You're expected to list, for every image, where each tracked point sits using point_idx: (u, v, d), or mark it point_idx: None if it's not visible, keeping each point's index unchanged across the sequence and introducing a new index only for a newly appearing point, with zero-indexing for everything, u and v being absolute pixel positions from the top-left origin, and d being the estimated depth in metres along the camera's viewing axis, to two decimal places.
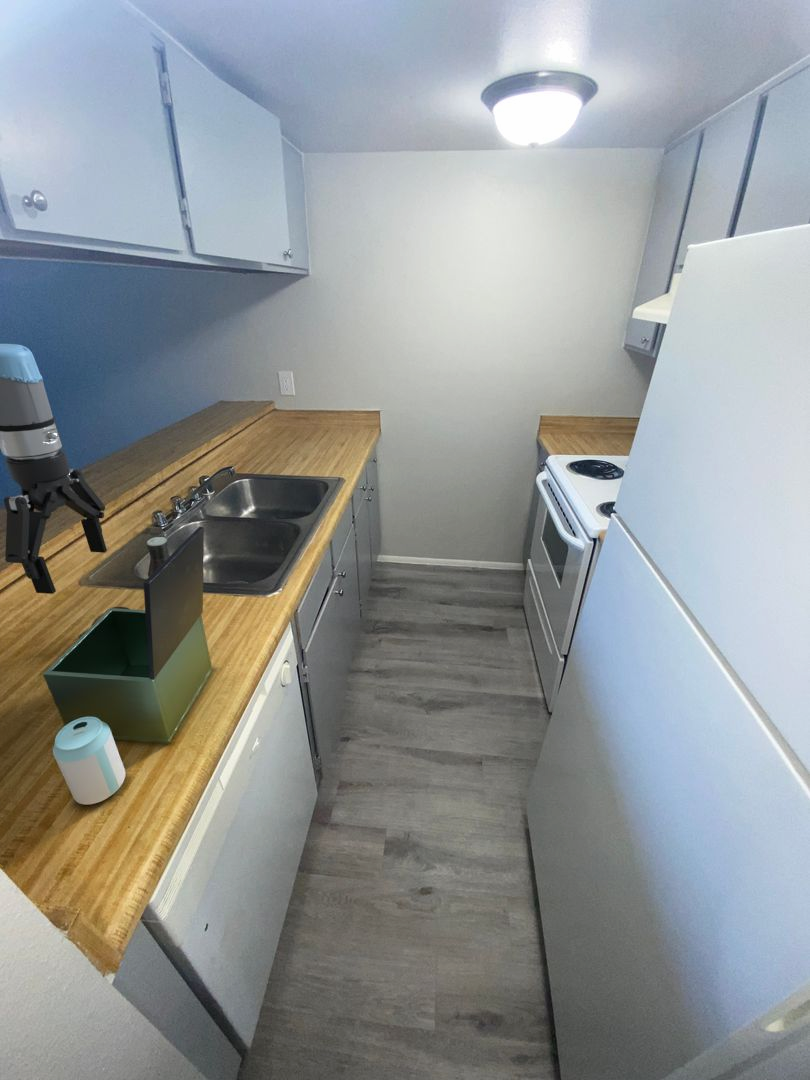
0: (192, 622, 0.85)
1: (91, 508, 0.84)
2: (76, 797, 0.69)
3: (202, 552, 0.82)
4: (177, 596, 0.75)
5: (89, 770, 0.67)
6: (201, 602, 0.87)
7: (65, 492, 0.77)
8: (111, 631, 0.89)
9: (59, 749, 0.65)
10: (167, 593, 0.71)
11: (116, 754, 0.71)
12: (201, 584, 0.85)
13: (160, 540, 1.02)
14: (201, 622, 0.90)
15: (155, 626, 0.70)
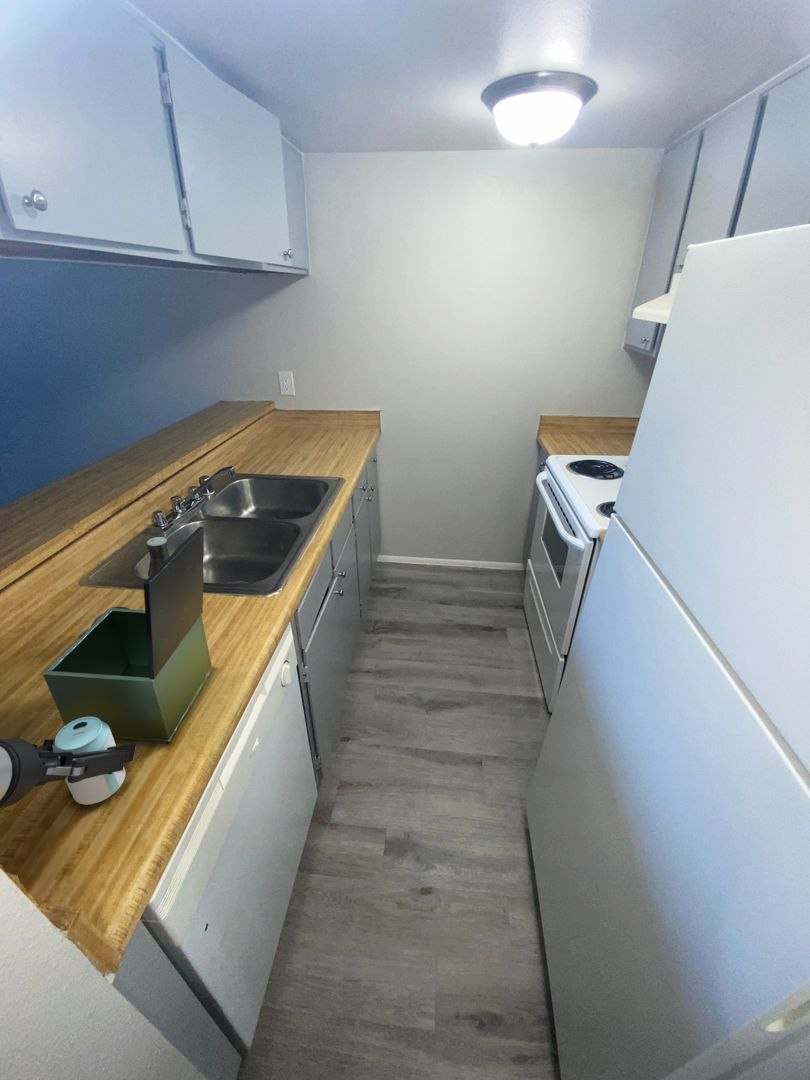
0: (192, 622, 0.85)
1: (40, 747, 0.66)
2: (76, 796, 0.69)
3: (202, 552, 0.82)
4: (177, 596, 0.75)
5: None
6: (201, 602, 0.87)
7: None
8: (111, 631, 0.89)
9: (59, 749, 0.65)
10: (167, 593, 0.71)
11: None
12: (201, 584, 0.85)
13: (160, 540, 1.02)
14: (201, 622, 0.90)
15: (155, 626, 0.70)
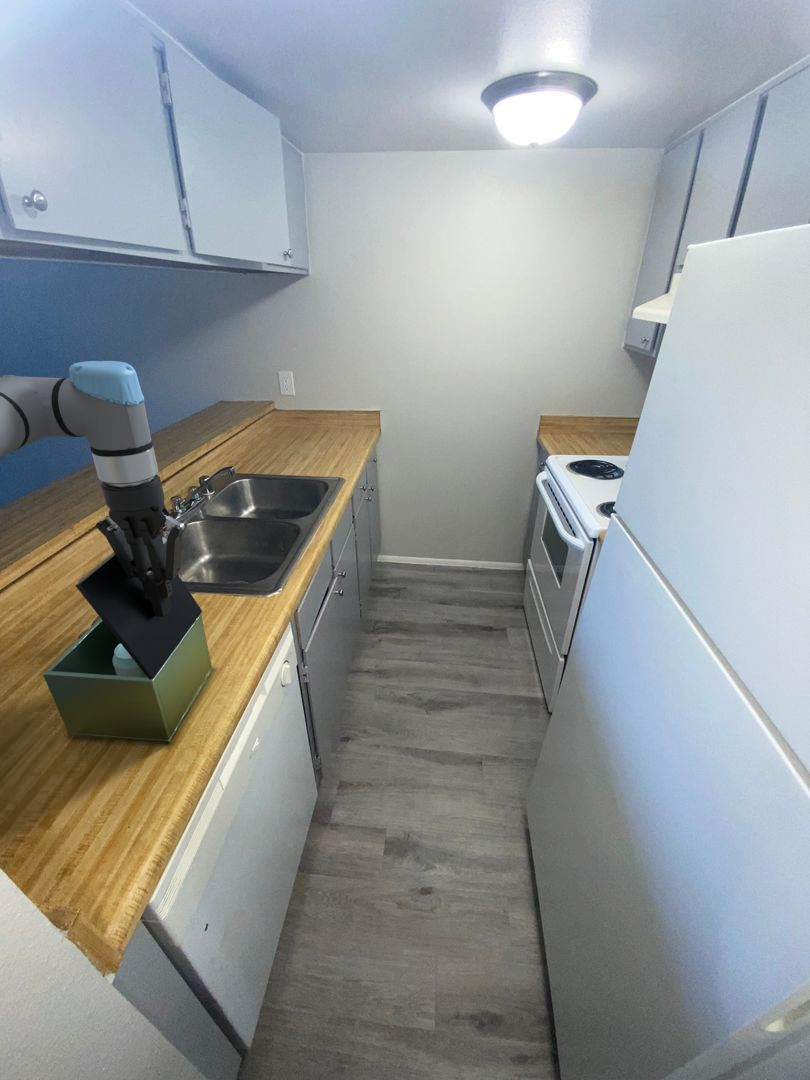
0: (189, 621, 0.85)
1: None
2: None
3: None
4: (142, 596, 0.76)
5: None
6: (193, 601, 0.87)
7: None
8: None
9: (115, 656, 0.81)
10: (122, 593, 0.72)
11: None
12: (180, 584, 0.85)
13: None
14: (201, 622, 0.90)
15: (120, 625, 0.70)
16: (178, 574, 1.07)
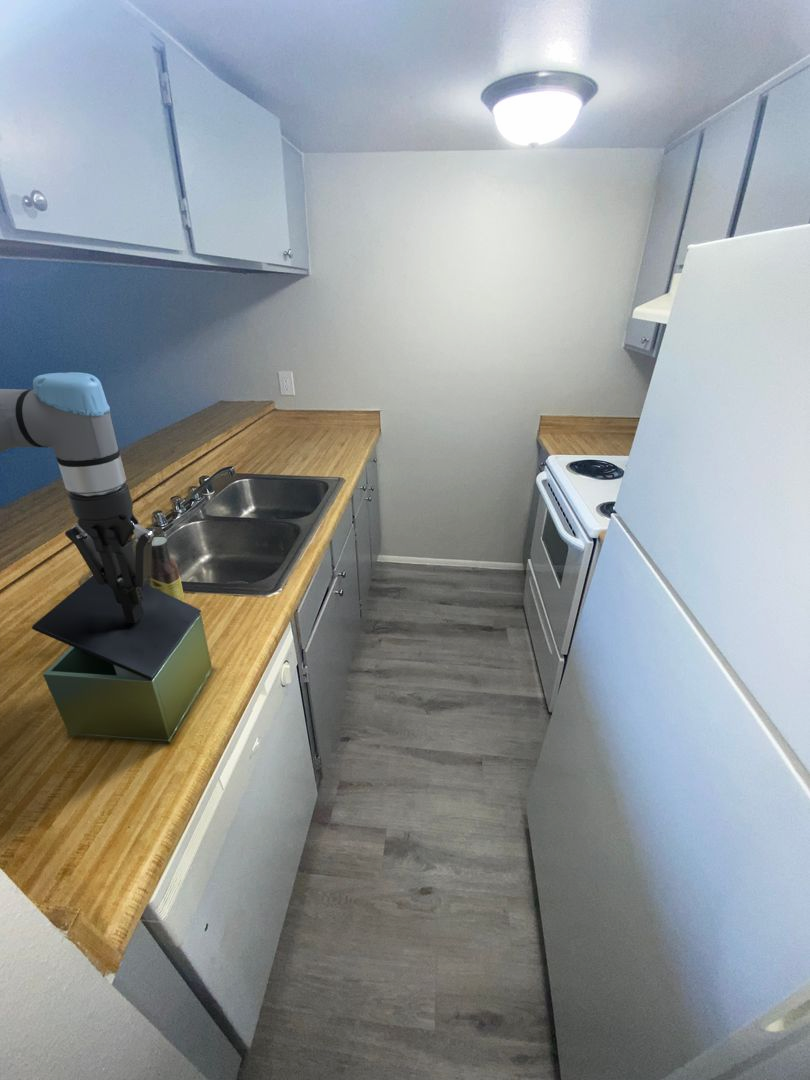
0: (186, 621, 0.85)
1: None
2: None
3: None
4: (115, 616, 0.78)
5: None
6: (185, 605, 0.87)
7: None
8: None
9: None
10: (88, 620, 0.75)
11: None
12: (164, 595, 0.87)
13: (160, 540, 1.02)
14: (201, 622, 0.90)
15: (94, 645, 0.72)
16: (178, 574, 1.07)
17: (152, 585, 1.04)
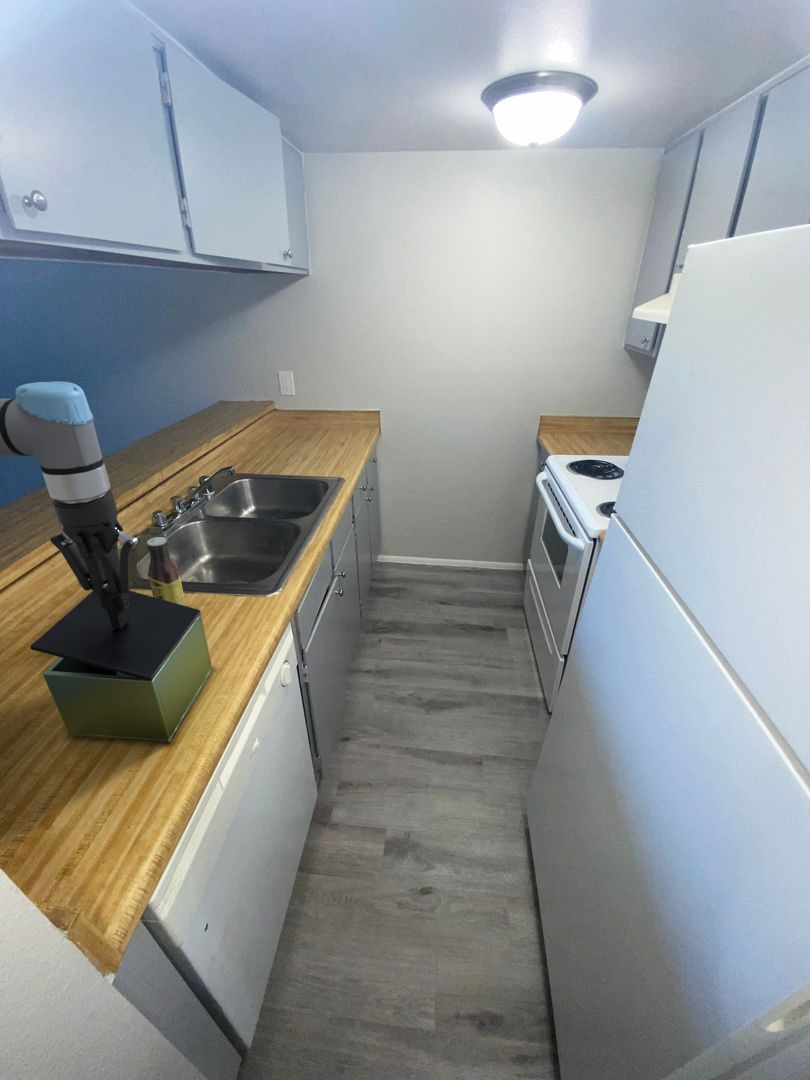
0: (185, 622, 0.85)
1: None
2: None
3: None
4: None
5: None
6: (184, 608, 0.88)
7: None
8: None
9: None
10: (85, 633, 0.76)
11: None
12: (162, 602, 0.87)
13: (160, 540, 1.02)
14: (201, 622, 0.90)
15: (91, 655, 0.73)
16: (178, 574, 1.07)
17: (152, 585, 1.04)
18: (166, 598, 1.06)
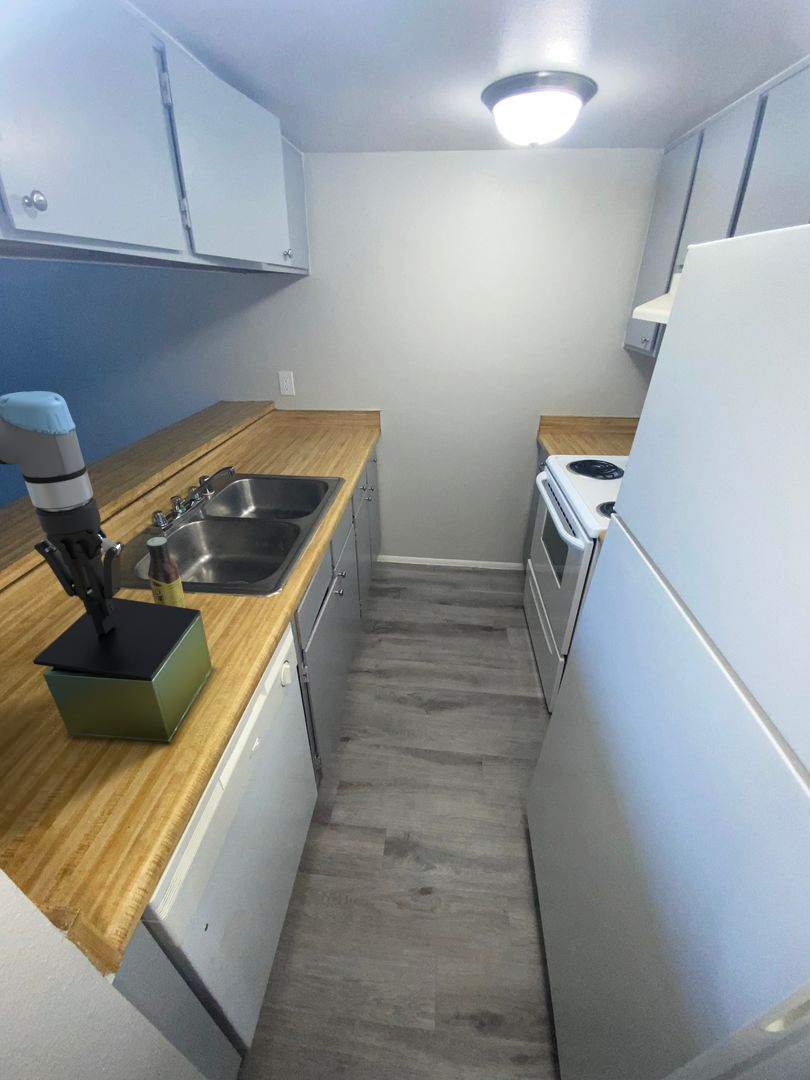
0: (185, 623, 0.85)
1: None
2: None
3: (126, 601, 0.88)
4: (113, 635, 0.80)
5: None
6: (184, 610, 0.88)
7: None
8: None
9: None
10: (86, 644, 0.77)
11: None
12: (161, 607, 0.88)
13: (160, 540, 1.02)
14: (201, 622, 0.90)
15: (92, 663, 0.74)
16: (178, 574, 1.07)
17: (152, 585, 1.04)
18: (166, 598, 1.06)
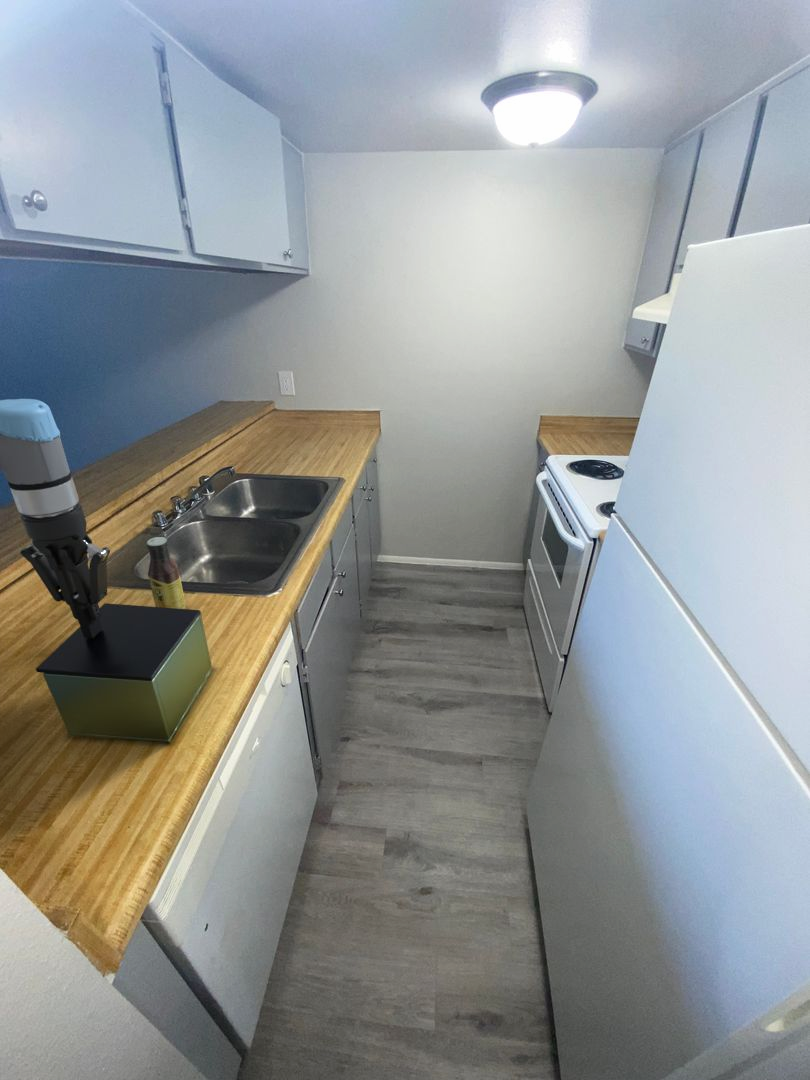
0: (185, 623, 0.85)
1: None
2: None
3: (127, 606, 0.88)
4: (114, 639, 0.80)
5: None
6: (184, 611, 0.88)
7: None
8: None
9: None
10: (88, 649, 0.78)
11: None
12: (162, 609, 0.88)
13: (160, 540, 1.02)
14: (201, 622, 0.90)
15: (93, 667, 0.74)
16: (178, 574, 1.07)
17: (152, 585, 1.04)
18: (166, 598, 1.06)
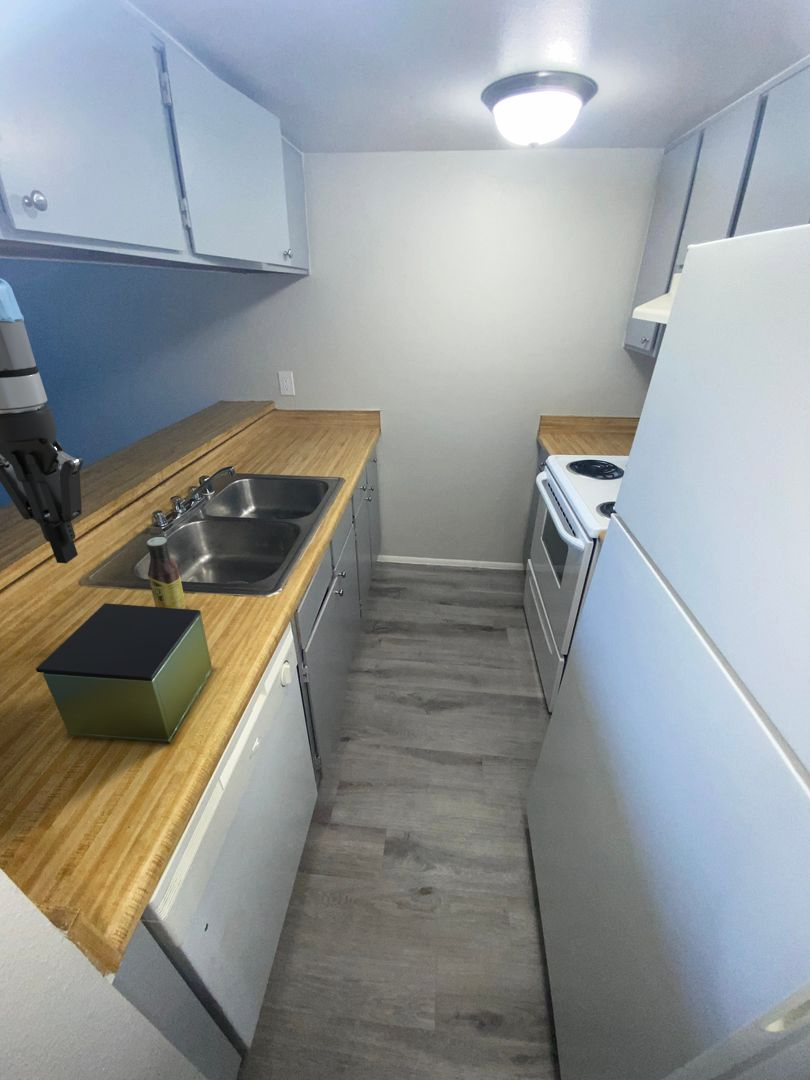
0: (185, 623, 0.85)
1: None
2: None
3: (127, 606, 0.88)
4: (114, 639, 0.80)
5: None
6: (184, 611, 0.88)
7: None
8: None
9: None
10: (88, 649, 0.78)
11: None
12: (162, 609, 0.88)
13: (160, 540, 1.02)
14: (201, 622, 0.90)
15: (93, 667, 0.74)
16: (178, 574, 1.07)
17: (152, 585, 1.04)
18: (166, 598, 1.06)
